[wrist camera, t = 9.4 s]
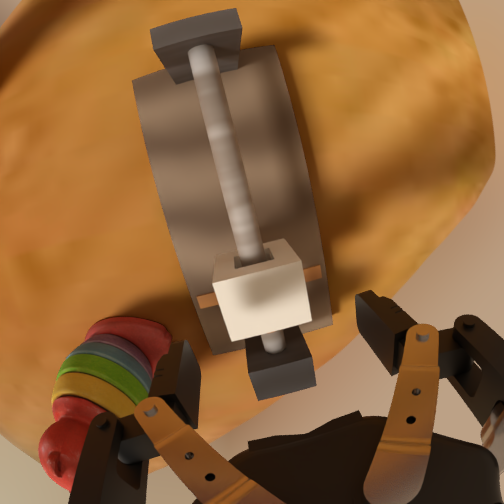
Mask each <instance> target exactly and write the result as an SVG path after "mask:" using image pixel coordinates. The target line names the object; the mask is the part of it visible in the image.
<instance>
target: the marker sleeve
mask: <svg viewBox="0 0 504 504" xmlns="http://www.w3.org/2000/svg"><path fill="white" fill-rule="evenodd" d="M263 247H264V251H265V255H266V259H267V261H265V262H261V263H257V264H253V265H249V266H246V267H242V265H241V261H240V258H239V254H238V250H235V251H232V252H228V253H224V254H220V255H216V257H215V265H214V273H213V281H212V284H213V287H214V291H215V294H216V297H217V300H218V303H219V306H220V309H221V312H222V315H223V318H224V321H225V324H226V327H227V330H228V333H229V336H230V338H231V341H237V340H241V339H245V338H249V337H254V336H258V335H262V334H266V333H270V332H274V331H277V330H281V329H285V328H289V327H292V326H296V325H300V324H303V323H307V322H310V321H312V319H311V312H310V306H309V300H308V295H307V289H306V283H305V278H304V272H303V267H302V261H301V259H300V258H299V257H298V256H297V254H296V253H295V252H294V250H293V249H292V248H291V246H290V245H289V244H288V243H287V241H286V240H285V239H284V238H283V239H279V240H275V241H271V242H267V243H263Z"/></svg>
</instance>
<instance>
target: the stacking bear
mask: <svg viewBox="0 0 504 504" xmlns="http://www.w3.org/2000/svg"><path fill="white" fill-rule="evenodd" d="M171 339H172V336H171V334H170V333H169V332H168V331H167V330H166V328H165V327H164V326H162V325H161V324H159V323H157V322H153V321H150V320H146V319H141V318H135V317H114V318H109V319H104V320H102V321H99V322H97V323H95V324H94V325H93V326H92V327H91V328H90V329H89V331H88V333H87V335H86V338H85V342H83V343H82V344H81V345H80V346H78V347H77V348H76V349H75V350H74V351H72V352H71V353H70V355H69V356H68V357H67V358H66V360H65V361H64V362H63V364H62V366H61V368H60V370H59V373H58V375H57V379H56V383H55V386H54V389H53V393H52V399H51V400H52V410H53V415H54V418H55V421H56V422H55V423H54V424H52V425H51V426H50V427H49V428H48V429H47V430H46V431H45V432H44V434H43V435H42V437H41V439H40V442H39V448H38V451H39V458H40V462H41V464H42V467H43V468H44V470H45V472H46V473H47V474H48V476H49V477H50V478H51V479H52V480H53V481H55V482H56V483H57V484H58V485H60V486H61V487H63V488H65V489H67V490H69V492H70V493H71V489H72V485H73V481H74V477H75V473H76V469H77V465H78V462H79V458H80V455H81V451H82V448H83V445H84V441H85V438H86V435H87V432H88V429H89V425H90V423H91V421H92V419H93V418H94V417H95V416H97V415H98V414H100V413H102V412H112V413H114V414H115V415H116V416H117V418H122V417H125V416H128V415H131V414H133V413H134V410H135V407H136V406H137V405H138V403H140V402H141V401H142V400H144V399H146V398H148V394H149V391H150V387H151V383H152V379H153V378H154V372H155V369H156V365H157V362H158V361H159V359H160V358H161V357H162V356H163V355H164V354H168V351H169V347H170V344H171Z"/></svg>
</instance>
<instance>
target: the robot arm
mask: <svg viewBox="0 0 504 504" xmlns="http://www.w3.org/2000/svg"><path fill="white" fill-rule="evenodd" d="M355 305H356V319H357V326H358V329H359V332H360V334H361V335H362V336H363V338H364V339H365V340H366V341H367V343H368V344H369V346H370V347H371V349H372V350H373V351H374V353H375V354H376V355H377V357H378V358H379V359H380V361H381V362H382V364H383V365H384V366H385V368H386V369H387V370H388V372H389V373H390V375H391V376H393V375H395V374H397V373H399V374H398V378H397V383H396V387H395V391H394V396H393V399H392V403H391V407H390V411H389V414H388V417H381V416H365V417H362V415H361V413H360V412H359V410H358V411H355V412H353V413H350V414H347V415H345V416H341V417H339V418H336V419H333V420H331V421H329V422H327V423H326V424H324V425H322V426H320V427H318V428H316V429H315V430H313V431H311V432H309V433H306V434H298V435H279V436H271V437H267V438H262V439H257V440H252V441H248V447H249V449H247V450H245V451H243V452H241V453H239V454H237V455H236V456H234V457H233V458H232V459H230V460H229V461H227V460H226V459H225V458H223V457H222V456H221V455H220V454H219V453H218V452H217V451H216V450H214V449H213V448H212V447H211V446H210V445H209V444H208V443H207V442H206V441H205V440H204V439H203V438H202V437H201V436H200V435H199V434H198V433H196V432H195V431H194V430H193V429H198V415H199V399H200V385H201V371H200V367H199V364H198V362H197V360H196V358H195V355H194V353H193V351H192V349H191V347H190V344H189V342H188V341H187V340H182V341H177V342H172V343H171V344H170V347H169V351H168V354H164V355H163V356H162V357H161V358H160V359H159V361H158V362H157V365H156V369H155V372H154V378H153V379H152V383H151V387H150V391H149V394H148V398H146V399H144V400H142V401H141V402H140V403H138V405H137V406H136V407H135V410H134V413H133V414H131V415H128V416H125V417H122V418H117V416H116V415H115V414H114V413H112V412H102V413H100V414H98V415H97V416H95V417H94V418H93V419H92V421H91V423H90V425H89V429H88V432H87V435H86V438H85V441H84V445H83V448H82V451H81V455H80V458H79V462H78V465H77V469H76V473H75V477H74V481H73V485H72V489H71V493H70V498H69V502H68V504H146V489H147V477H148V476H147V475H148V466H149V459H151V458H154V457H157V456H160V455H161V456H162V458H163V459H164V460H165V462H166V463H167V464H168V465H169V466H170V468H171V469H172V470H173V471H174V473H175V474H176V475H177V476H178V477H179V479H180V480H181V481H182V482H183V483H184V484H185V486H186V487H187V488H188V489H189V490H190V491H191V492H192V493H193V494H194V495H195V496H196V498H197V499H196V500H195V501H194V502H193V503H192V504H504V503H503V501H502V497H501V492H500V482H499V479H500V477H499V476H500V474H502V473H503V472H504V340H503V338H501V337H500V336H499V335H498V334H497V333H496V332H495V331H494V330H492V329H491V328H490V327H489V326H488V325H487V324H486V323H484V322H483V321H482V320H481V319H480V318H478V317H476V316H474V315H462V316H460V317H458V318H457V319H456V320H455V322H454V327H453V328H450V329H445V330H440V331H438V330H437V329H436V328H435V327H433V326H432V325H428V324H418V323H417V322H416V321H414V320H413V319H412V318H411V317H410V316H409V315H408V314H407V313H406V312H405V311H403V310H402V308H400V307H399V306H398V305H397V304H396V303H395V302H394V301H393V300H391V299H389V298H386V297H384V296H382V297H378V296H377V295H376V294H375V293H374V292H373V291H372V290H368V291H365V292H362V293H359V294H356V296H355ZM474 361H476V363H477V364H478V365H479V366H480V367H481V369H480V368H479V367H478V366H477V365H476V364H475V363H474ZM442 378H447V379H448V380H449V382H450V383H451V384H452V386H453V387H454V388H455V390H456V391H457V392H458V394H459V395H460V396H461V398H462V399H463V400H464V402H465V403H466V404H467V406H468V407H469V408H470V410H471V411H472V413H473V414H474V416H475V417H476V418H477V420H478V421H479V423H480V424H481V426H482V430H481V440H482V446H481V445H477V444H473V443H469V442H465V441H462V440H458V439H454V438H451V437H447V436H444V435H440V434H437V433H433V426H434V420H435V413H436V405H437V395H438V386H439V379H442Z"/></svg>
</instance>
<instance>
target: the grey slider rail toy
mask: <svg viewBox="0 0 504 504" xmlns="http://www.w3.org/2000/svg"><path fill="white" fill-rule="evenodd" d="M150 33H151V39H152V44H153V49H154V51H155V53H156V54H157V56H158V57H159V59H160V61H161V62H162V64H163V65H164V67H165V68H166V69H163V70H160V71H157V72H154V73H151V74H148V75H146V76H143V77H140V78H137V79H135V80H132V83H133V89H134V94H135V99H136V104H137V109H138V113H139V118H140V123H141V127H142V132H143V136H144V140H145V144H146V149H147V153H148V157H149V161H150V165H151V169H152V172H153V176H154V180H155V184H156V187H157V191H158V195H159V198H160V202H161V205H162V209H163V212H164V215H165V219H166V222H167V226H168V229H169V232H170V235H171V239H172V242H173V245H174V248H175V251H176V254H177V257H178V260H179V263H180V266H181V269H182V272H183V275H184V278H185V281H186V284H187V287H188V290H189V292H190V295H191V298H192V301H193V304H194V306H195V309H196V312H197V314H198V317H199V320H200V322H201V325H202V328H203V330H204V333H205V335H206V338H207V340H208V343H209V345H210V348H211V350H212V353H213V355H217V354H222V353H227V352H232V351H236V350H241V349H245V348H246V357H247V366H248V374H249V376H250V379H251V382H252V385H253V388H254V390H255V393H256V396H257V399H258V401H259V400H264V399H268V398H272V397H277V396H281V395H285V394H288V393H292V392H296V391H299V390H303V389H307V388H310V387H314V386H316V379H315V372H314V366H313V359H312V355H311V353H310V351H309V348H308V346H307V344H306V341H305V339H304V337H303V335H302V334H303V333H307V332H310V331H314V330H317V329H320V328H324V327H327V326H330V325H333V321H332V312H331V304H330V296H329V289H328V281H327V274H326V268H325V261H324V255H323V249H322V243H321V237H320V231H319V225H318V220H317V214H316V209H315V204H314V199H313V194H312V189H311V184H310V179H309V174H308V170H307V165H306V161H305V156H304V152H303V147H302V143H301V139H300V135H299V131H298V127H297V123H296V119H295V115H294V111H293V107H292V103H291V100H290V96H289V92H288V89H287V85H286V82H285V78H284V75H283V72H282V68H281V65H280V62H279V58H278V55H277V52H276V49H275V46H274V45H270V46H262V47H255V48H249V49H243V50H240V43H241V35H242V25H241V22H240V19H239V16H238V13H237V10H236V8H234V9H228V10H222V11H217V12H212V13H207V14H203V15H198V16H194V17H190V18H186V19H182V20H179V21H175V22H172V23H168V24H165V25H162V26H159V27H156V28H153V29H150ZM283 238H284V239H285V240H286V241H287V243H288V244H289V245H290V246H291V248H292V249H293V250H294V252H295V253H296V254H297V256H298V257H299V258H300V259H301V261H302V267H303V272H304V278H305V283H306V289H307V295H308V300H309V306H310V312H311V319H312V321H310V322H307V323H303V324H300V325H296V326H292V327H289V328H285V329H281V330H277V331H274V332H270V333H266V334H262V335H258V336H254V337H249V338H245V339H241V340H237V341H231V338H230V336H229V333H228V330H227V327H226V324H225V321H224V318H223V315H222V312H221V309H220V306H219V303H218V300H217V297H216V294H215V291H214V287H213V284H212V281H213V273H214V265H215V257H216V255H220V254H224V253H228V252H232V251H235V250H238V254H239V258H240V261H241V265H242V267H246V266H249V265H253V264H257V263H261V262H265V261H267V259H266V255H265V251H264V247H263V243H267V242H271V241H275V240H279V239H283Z"/></svg>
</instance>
